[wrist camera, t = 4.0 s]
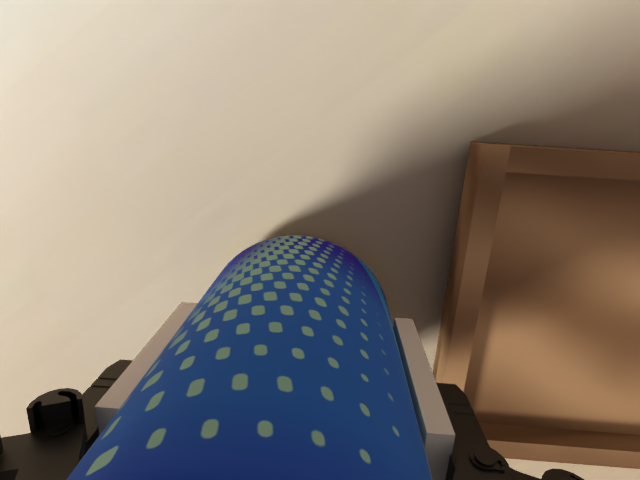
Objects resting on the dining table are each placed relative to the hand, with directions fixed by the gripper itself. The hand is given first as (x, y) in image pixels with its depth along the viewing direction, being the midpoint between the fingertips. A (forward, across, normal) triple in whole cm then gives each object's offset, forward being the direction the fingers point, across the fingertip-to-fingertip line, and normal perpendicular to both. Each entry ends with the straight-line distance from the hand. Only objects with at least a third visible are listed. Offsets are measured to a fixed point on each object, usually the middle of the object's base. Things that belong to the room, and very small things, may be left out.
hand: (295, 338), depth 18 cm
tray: (+3, +14, +1) cm, 15 cm away
